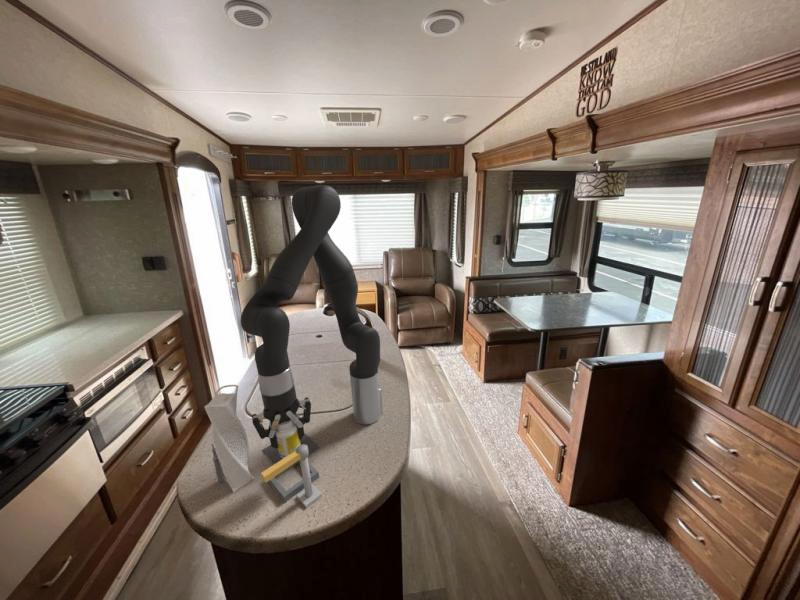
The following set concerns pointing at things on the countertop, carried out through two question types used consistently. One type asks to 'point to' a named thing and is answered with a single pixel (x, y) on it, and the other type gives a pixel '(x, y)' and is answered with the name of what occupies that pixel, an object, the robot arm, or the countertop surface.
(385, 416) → the countertop surface
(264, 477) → the yellow lever
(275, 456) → the mat
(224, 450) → the skyscraper
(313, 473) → the socket
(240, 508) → the countertop surface
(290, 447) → the supplement bottle
